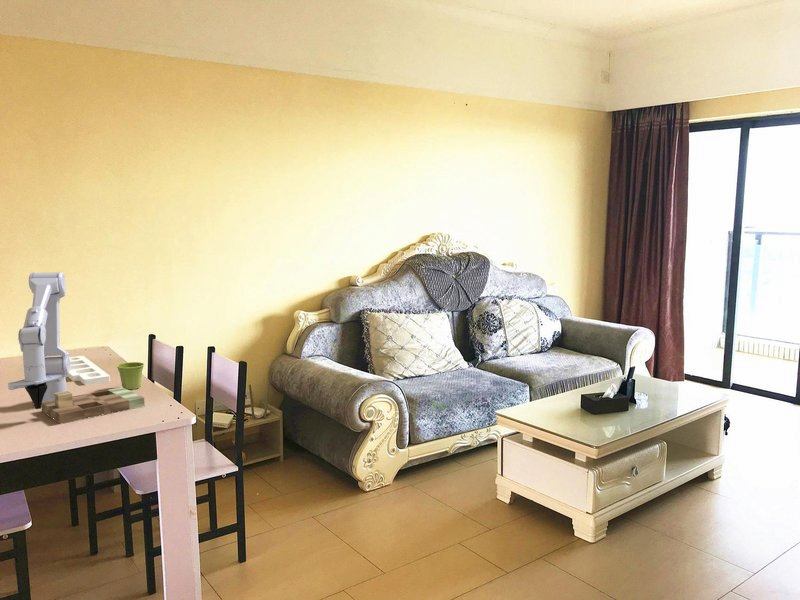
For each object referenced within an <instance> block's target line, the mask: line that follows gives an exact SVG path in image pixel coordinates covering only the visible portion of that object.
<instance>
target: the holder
mask: <svg viewBox="0 0 800 600" xmlns="http://www.w3.org/2000/svg"><path fill="white" fill-rule="evenodd" d="M69 359H70V372H69V373H68V374H67V375H65V377H66V378H68V379H70V380H71V381H72V382H77V381H78V382H80V383H82V384H83V385H84V386H89V385H90V386H91V385H96V384H103V382H104V383H110V382H111V375H110V374H108V373H107V372H106V371H104V370H102V369H101V367H99V366H98V365H96V364H95V363H93V362H92V361H91V360H89V358H87V357H86V356H84V355H77V356H69ZM109 381H110V382H109Z"/></svg>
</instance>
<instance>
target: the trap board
mask: <svg viewBox="0 0 800 600" xmlns="http://www.w3.org/2000/svg"><path fill="white" fill-rule="evenodd" d="M72 402H73V406H68V407H62V408H58V407H57V406H55V400H51V401H45V402H42V405H41V412H42V411H43V412H42V413H44V412H45V413H46V414H45V413H44V414H45V415H47V414H48V415H49V416H50V417H49V416H48V415H47V416H48V417H49V418H51V417H52V418H54V419H55V420H56V421H55V420H54V419H53V420H54V421H55V422H57V421H58V422H59V424H60V423H63V424H66V423H65V422H67V423H70V421H72V422H75V421H74V420H77V421H80V420H79V419H82V420H85V419H84V418H86V419H89V418H88V417H91V418H95V417H94V416H96V417H99V415H101V416H103V415H102V414H105V415H109V414H108V413H110V414H113V413H112V412H115V413H118V411H120V412H123V410H125V411H128V409H129V410H134V409H138V408H137V407H139V408H143V407H142V406H144V407H145V406H146V405H145V396H142V395H139V394H138V393H136V392H133V391H131V390H130V389H125V388H123V387H122V386H121V387H115V388H112V389H106V390H100V391H95V392H89V393H84V394H80V395H79V394H77V395H72ZM133 408H134V409H133ZM52 418H51V419H52ZM58 422H57V423H58Z"/></svg>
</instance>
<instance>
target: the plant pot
mask: <svg viewBox="0 0 800 600" xmlns="http://www.w3.org/2000/svg"><path fill="white" fill-rule="evenodd" d="M144 366H145V363H144V362H138V361H131V362H123V363H122V362H121V363H120V364H117V365H116V368H117V369H118V372H119V376H120V381H121V387H123V388H125V389H127V390H130V391H131V390H133V389H134V390H138V389H140V388H141V387H142V385H141V384H142V376H143V375H142V374H143V369H144ZM137 388H138V389H137ZM134 390H133V391H134Z"/></svg>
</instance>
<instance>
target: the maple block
mask: <svg viewBox="0 0 800 600" xmlns="http://www.w3.org/2000/svg"><path fill="white" fill-rule="evenodd" d="M72 396H73V393H72V392H71V391H69V390H66V391H64V392H58V393H54V399H55V406H57V407H58V408H62V407H68V406H73V402H72Z"/></svg>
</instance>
